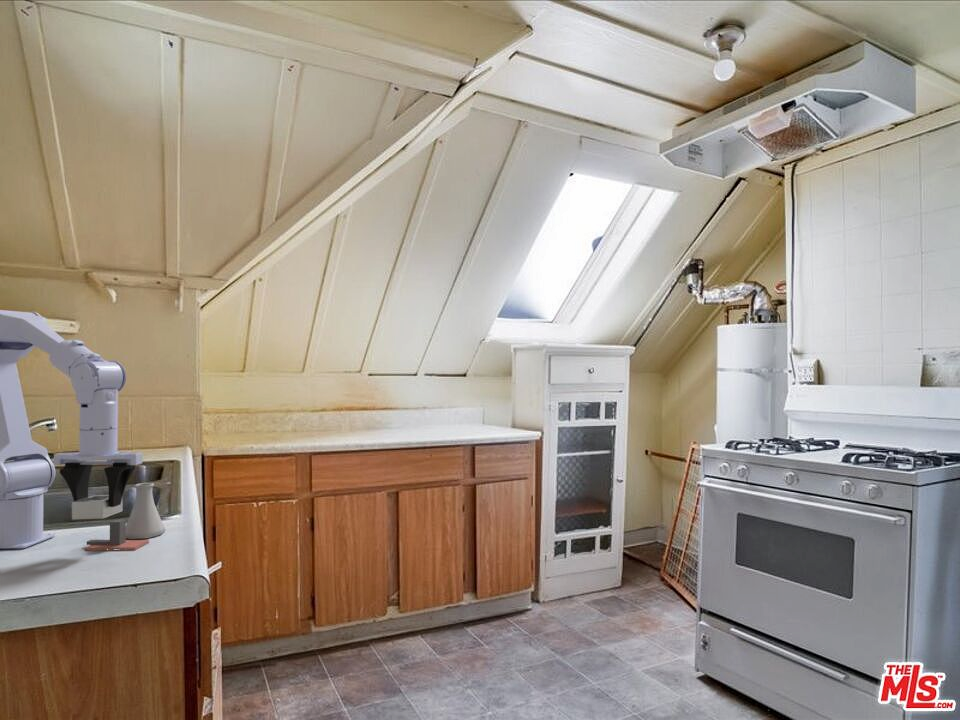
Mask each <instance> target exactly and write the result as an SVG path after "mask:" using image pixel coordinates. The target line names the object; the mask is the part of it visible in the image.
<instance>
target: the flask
mask: <svg viewBox="0 0 960 720" xmlns="http://www.w3.org/2000/svg"><path fill="white" fill-rule="evenodd" d="M154 486H155V483H154V482H142V483H137V484H135V485H134V489H135V490H136V491H135V499H134V503H133V507H132V509H131V512H130V514H129V517H128V520H127V521H126V539H127V540H142V539H143V540H144V539H150V538H153V537H157V536H160V535H162V534H163V533H165V532H166V528H165V525H164V524H163V521H162V519H161V517H160V514H159V512H158V509H157V507H156V504H155V500H154V495H153V487H154Z"/></svg>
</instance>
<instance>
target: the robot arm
mask: <svg viewBox="0 0 960 720" xmlns="http://www.w3.org/2000/svg"><path fill="white" fill-rule="evenodd" d="M35 347H36V348H38V349H39V350H40V351H43V352H45V353H46V354H47V355H49V358H48V359H49V362H50V364H51V365H52V366H53V367H55V368H56V369H57V370H59V371H60V372H61V373H63V375H65V376H67V377H68V378H70V383H71V386H72V388H73V390H74V392H75V401H76V403H77V404H79V405H78V407H79V419H78V421H79V422H78V424H79V425H78V426H79V430H78V433H79V434H78V435H79V436H78V452H59V453H55V454H54V455H53V461H52V460H51V459H50V455H49V453H48V449H47V448H46V447H44V446H43V445H41V444H39V443H37V442H36V441H33V439H32V435H31V430H30V425H29V420H28V416H27V415H28V414H27V411H26V404H25V400H24V395H23V390H22V385H21V381H20V376H19V370H18V367H17V366H18V365H17V362H18V361H19V359H22V358H24V357H27V356H28V355H29V354H30V353H31V351H32V350H33V349H34V348H35ZM126 373H127V372H126V369H125V367H123V365H122V364H121V363H120V362H119V361H118V360H104V359H103V358H102V356H101V355H100V354H99V353H95V352H93V351H92V350H91V349H90V348H88V347H86V346H85V342H84V341H82V340H80V339H67V340H65V339H64V338H63V337H62V336H61V335H59V334H58V333H57V332H56V331H55V330H54V329H52V328H51V327H50V326H49V325H48V322H47V317H44V316H42V315H41V314H40V313H39V312H36V311H20V310H19V311H18V310H5V309H4V310H3V309H0V549H25V548H28V547H30V546H33V545H36V544H39V543H42V542H43V541H46V540H49V539H51V538H54V537H55V533H44V494H45V493H48V488H50V487H51V486H52V485H53V483H54V481H55V478H56V466H62V465H64V466H63V468H60V469H59V474H60V475H61V477H62V478H63V479H64V480H65V482H66V484H67V486H68V488H69V490H70V493H71V495H72V500H73V501H77V500H80V499H83V498H86V497H89V483H90V477H91V473H92V469H93V466H95V465H97V466H98V465H100V466H101V465H102V466H103V465H104V466H105V465H109V466H107V467H103V468H104V469H103V470H104V474H105V476H106V479H107V480H106V481H107V485H108V487H107V488H108V495H109V506H110V507H115V506H118V505H120V504H121V500H122V501H123V495H124V491H125V489H126V486H127V485H128V482H129V480H130V477H131V476H132V474H133V473H134V472H135V470H136V467H137V466H138V465H141V464H143V452H129V451H118V445H119V444H118V441H119V439H118V438H119V436H118V435H119V433H118V431H119V430H118V428H119V427H118V426H119V423H118V420H119V412H118V410H119V392H120V391H121V390H122V389H124V387H125V385H126V381H127V374H126ZM110 465H111V466H110Z"/></svg>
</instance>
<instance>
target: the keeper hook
mask: <svg viewBox="0 0 960 720" xmlns="http://www.w3.org/2000/svg"><path fill="white" fill-rule="evenodd" d="M126 524H127V521H126V519H114V520H112V521H109V539H89V540H88V541H86V546H85V547H84V551H115V550H114V549H120V550H119V551H126V550H125V549H129V550H128V551H136V550H138V549H140V548H142V547H144V546H146V545H148V544H149V543H150V540H149V539H143V540H142V539H127V538H126ZM126 539H127V540H126ZM141 546H142V547H141ZM139 547H140V548H139ZM137 548H138V549H137ZM107 549H108V550H107ZM135 549H136V550H135Z"/></svg>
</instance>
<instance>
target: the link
mask: <svg viewBox="0 0 960 720" xmlns="http://www.w3.org/2000/svg"><path fill="white" fill-rule="evenodd" d="M123 505H124V504H123V499H122V500H121V504H120V505H118V506H115V507H110V506H109V494H96V495H95V494H94V495H92V494H91V496H90V495H88V497H86V498H83V499H80V500H77V501H74V500H73V501H72V502H71V520H93V519H95V520H99V519H102V520H103V519H106V518H109V517H110V516H114V515H115V514H118V513H121V512H123V510H124V508H123V507H124V506H123Z"/></svg>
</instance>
